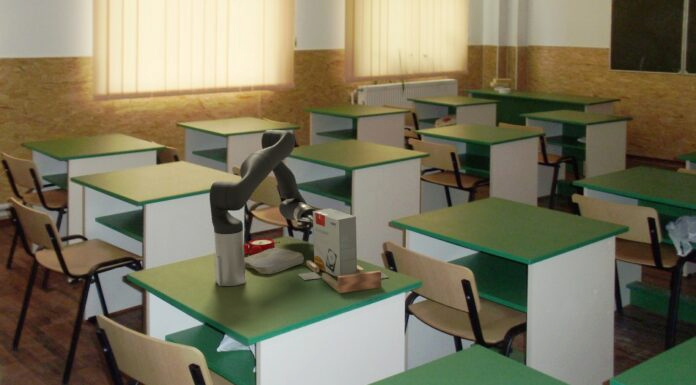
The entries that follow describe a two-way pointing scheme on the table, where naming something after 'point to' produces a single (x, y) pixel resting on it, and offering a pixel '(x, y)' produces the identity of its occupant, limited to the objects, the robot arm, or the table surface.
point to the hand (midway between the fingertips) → (322, 226)
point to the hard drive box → (335, 242)
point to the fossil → (273, 260)
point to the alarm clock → (258, 246)
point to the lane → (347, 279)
